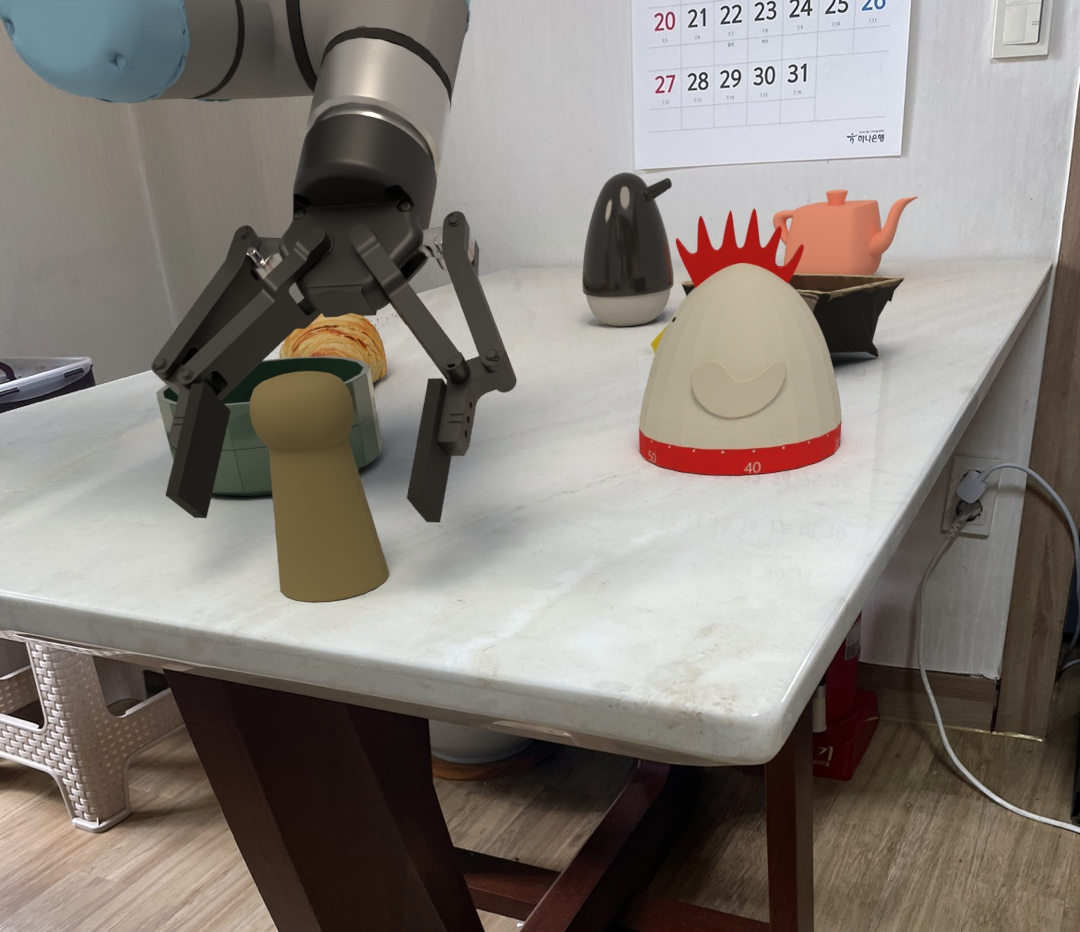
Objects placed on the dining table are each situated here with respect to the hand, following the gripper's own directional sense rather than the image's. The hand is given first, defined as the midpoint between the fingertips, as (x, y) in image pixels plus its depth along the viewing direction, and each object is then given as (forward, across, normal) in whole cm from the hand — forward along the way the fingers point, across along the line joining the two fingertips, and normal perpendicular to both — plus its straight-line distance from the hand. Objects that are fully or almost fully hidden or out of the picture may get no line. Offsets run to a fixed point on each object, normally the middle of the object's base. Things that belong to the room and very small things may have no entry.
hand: (300, 509), depth 53 cm
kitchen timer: (-16, -19, -23) cm, 34 cm away
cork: (+2, 0, -5) cm, 5 cm away
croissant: (-32, +23, -39) cm, 55 cm away
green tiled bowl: (-12, +14, -19) cm, 27 cm away
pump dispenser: (-51, -1, -58) cm, 77 cm away
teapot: (-67, -23, -74) cm, 103 cm away
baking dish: (-35, -20, -42) cm, 58 cm away
